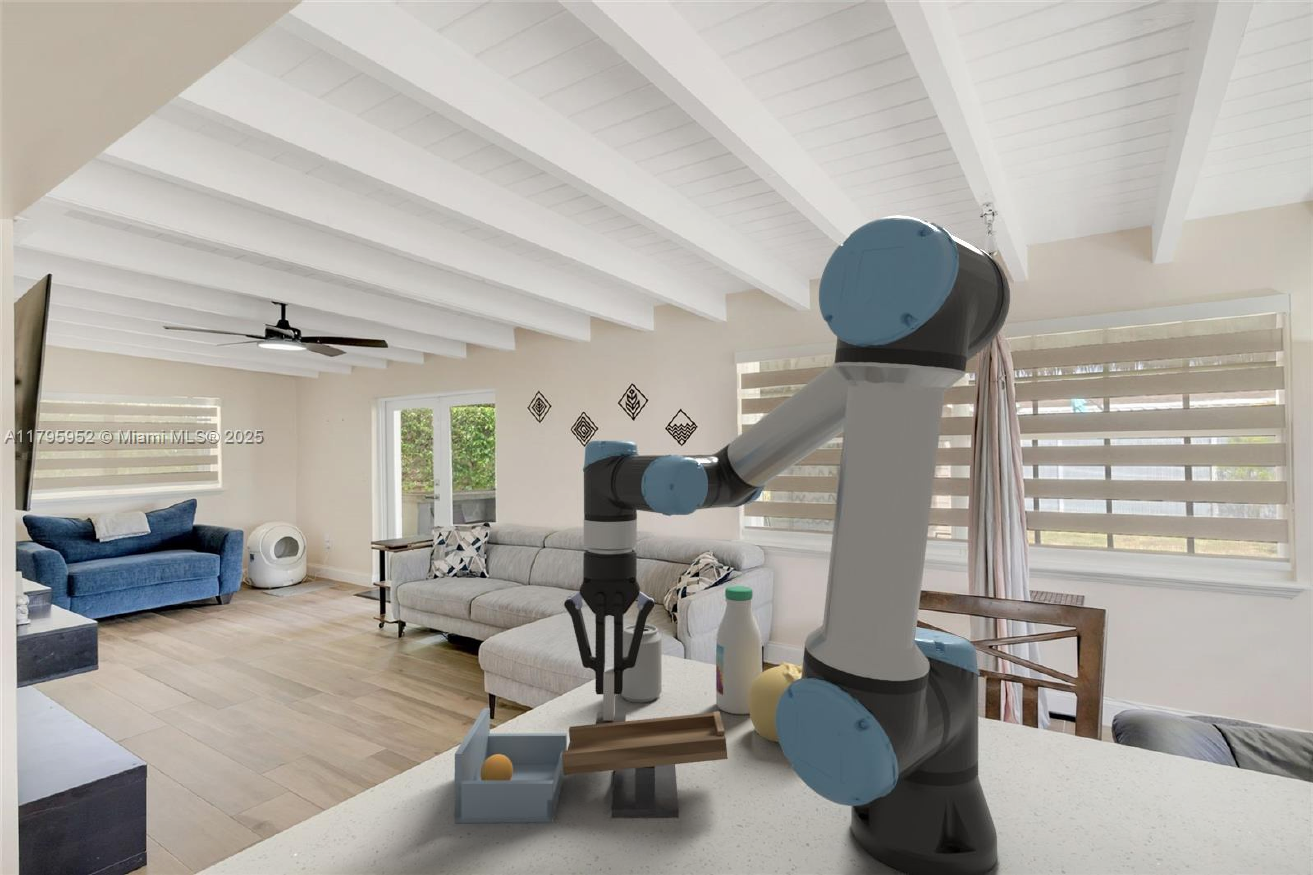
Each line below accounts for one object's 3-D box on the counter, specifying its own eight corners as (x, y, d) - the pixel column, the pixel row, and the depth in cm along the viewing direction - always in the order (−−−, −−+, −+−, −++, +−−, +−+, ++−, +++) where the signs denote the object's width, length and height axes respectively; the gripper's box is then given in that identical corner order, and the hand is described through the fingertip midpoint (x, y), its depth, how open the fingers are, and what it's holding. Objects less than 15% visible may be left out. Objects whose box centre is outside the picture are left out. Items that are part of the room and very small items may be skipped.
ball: (523, 765, 84) (501, 743, 84) (504, 792, 81) (481, 770, 81) (511, 773, 87) (489, 751, 87) (492, 799, 83) (469, 778, 83)
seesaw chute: (577, 720, 96) (576, 700, 96) (714, 707, 96) (712, 686, 96) (563, 775, 80) (561, 750, 80) (727, 759, 80) (725, 734, 80)
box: (483, 766, 90) (484, 707, 91) (566, 766, 91) (567, 707, 91) (454, 823, 77) (454, 753, 77) (552, 822, 77) (552, 753, 77)
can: (663, 689, 120) (663, 622, 120) (659, 705, 112) (659, 634, 112) (622, 687, 120) (622, 621, 121) (616, 703, 113) (615, 633, 113)
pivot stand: (616, 768, 90) (616, 736, 90) (674, 768, 90) (674, 736, 90) (611, 818, 78) (611, 780, 78) (678, 817, 78) (678, 780, 78)
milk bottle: (769, 703, 113) (768, 586, 113) (750, 719, 106) (750, 595, 106) (728, 694, 117) (728, 581, 117) (708, 709, 110) (708, 589, 111)
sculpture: (838, 754, 94) (837, 678, 94) (753, 753, 94) (753, 678, 95) (820, 721, 106) (819, 653, 106) (744, 720, 106) (744, 653, 106)
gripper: (655, 545, 97) (654, 706, 97) (567, 545, 97) (566, 705, 97) (656, 553, 90) (655, 728, 89) (560, 553, 90) (559, 727, 89)
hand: (609, 716), depth 93 cm, fingers closed
